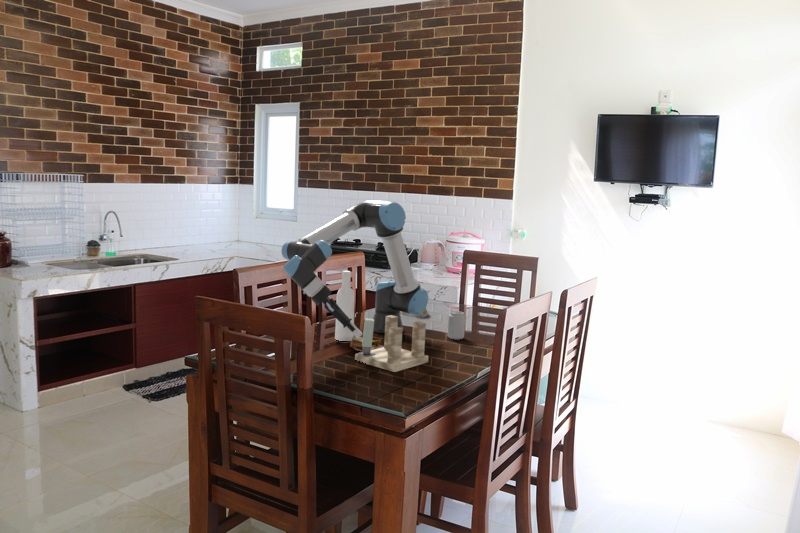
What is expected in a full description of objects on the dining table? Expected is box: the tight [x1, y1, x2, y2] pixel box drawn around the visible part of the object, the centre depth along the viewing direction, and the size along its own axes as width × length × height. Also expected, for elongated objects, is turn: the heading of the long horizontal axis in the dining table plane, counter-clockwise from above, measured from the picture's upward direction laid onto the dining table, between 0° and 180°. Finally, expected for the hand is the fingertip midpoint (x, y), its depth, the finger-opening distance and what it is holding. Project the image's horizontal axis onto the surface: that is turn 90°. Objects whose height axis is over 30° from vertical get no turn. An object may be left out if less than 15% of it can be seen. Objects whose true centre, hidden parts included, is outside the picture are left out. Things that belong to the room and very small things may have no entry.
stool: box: [354, 315, 429, 373], centre depth 246 cm, size 20×20×16 cm
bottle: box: [334, 270, 356, 341], centre depth 274 cm, size 8×8×30 cm
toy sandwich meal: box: [349, 336, 384, 353], centre depth 263 cm, size 12×14×5 cm
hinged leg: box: [362, 317, 374, 355], centre depth 245 cm, size 4×4×13 cm
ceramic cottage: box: [400, 285, 429, 318], centre depth 338 cm, size 16×16×15 cm
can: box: [446, 310, 466, 341], centre depth 289 cm, size 8×8×12 cm
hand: (359, 336), depth 244 cm, fingers closed
